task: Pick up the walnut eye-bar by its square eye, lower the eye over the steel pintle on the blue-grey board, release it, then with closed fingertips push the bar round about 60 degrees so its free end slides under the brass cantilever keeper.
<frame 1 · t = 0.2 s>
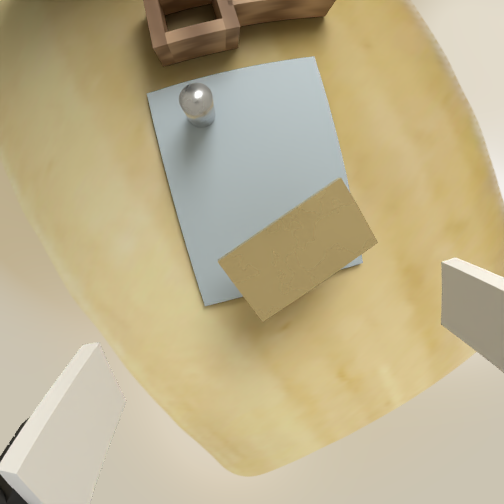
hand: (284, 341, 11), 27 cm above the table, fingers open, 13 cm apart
pintle: (202, 116, 34), resting on board
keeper: (283, 233, 38), resting on board
board: (259, 176, 36), on the table
link: (321, 7, 32), on the table
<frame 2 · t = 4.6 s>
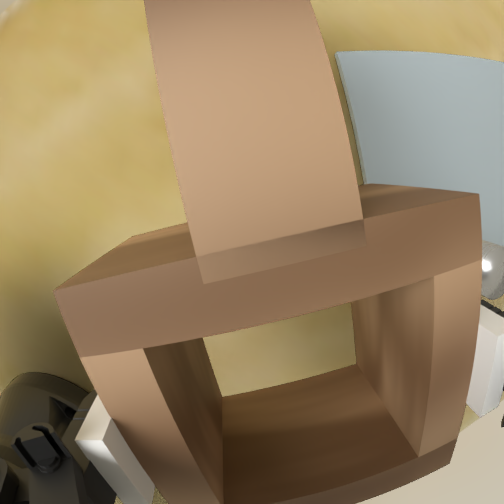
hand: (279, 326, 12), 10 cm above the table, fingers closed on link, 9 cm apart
pintle: (424, 242, 22), resting on board
board: (493, 171, 21), on the table
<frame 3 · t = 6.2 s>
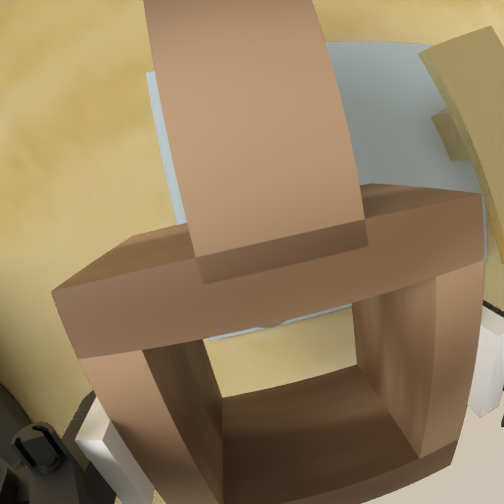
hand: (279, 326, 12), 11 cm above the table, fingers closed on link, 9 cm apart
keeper: (425, 146, 22), resting on board
board: (353, 171, 23), on the table
when the fingers open (1 cm above the table, at t = 8.3 s): link stays where it is, resting on board.
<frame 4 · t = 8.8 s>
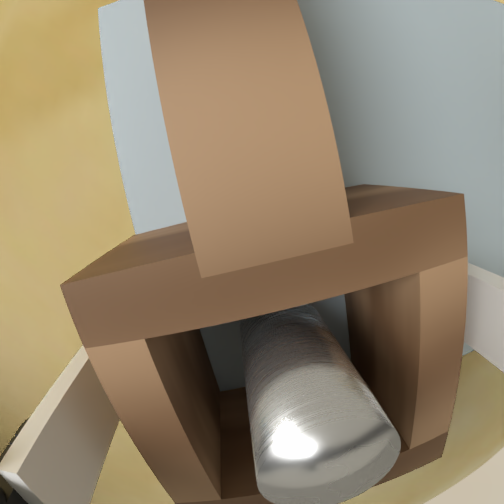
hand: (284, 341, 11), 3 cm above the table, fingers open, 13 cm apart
pintle: (274, 311, 13), resting on board
board: (435, 170, 13), on the table
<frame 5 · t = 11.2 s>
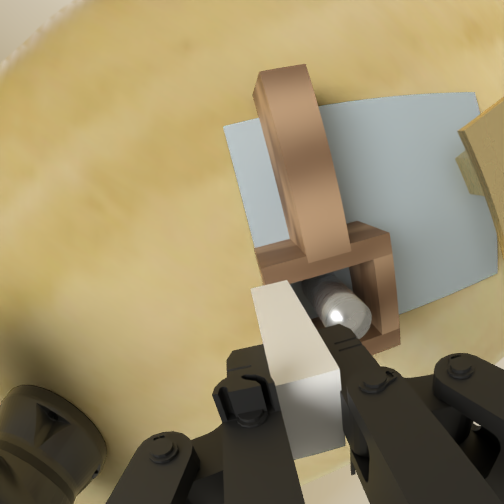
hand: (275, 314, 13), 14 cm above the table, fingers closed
pintle: (317, 281, 28), resting on board
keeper: (450, 183, 27), resting on board
board: (394, 209, 27), on the table
link: (270, 91, 24), point 1 cm above the table, touching board
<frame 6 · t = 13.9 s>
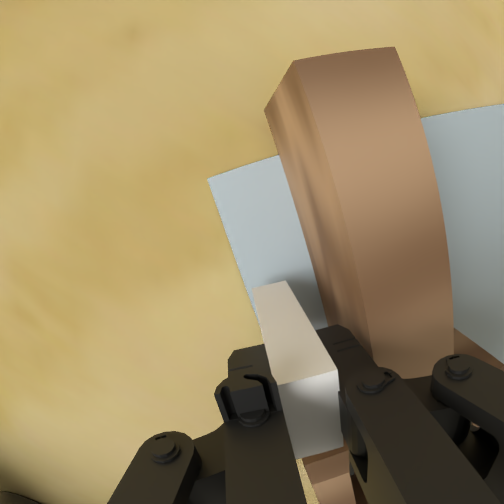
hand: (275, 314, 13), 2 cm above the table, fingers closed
board: (477, 282, 16), on the table
link: (297, 101, 13), point 1 cm above the table, touching board, gripper
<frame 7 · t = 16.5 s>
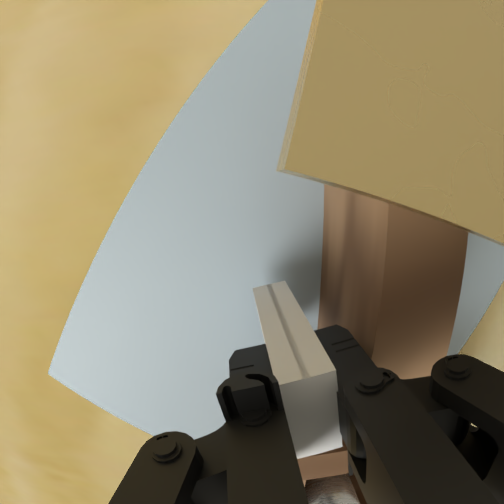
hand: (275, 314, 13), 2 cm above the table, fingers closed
pintle: (303, 430, 17), resting on board
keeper: (394, 145, 14), resting on board
board: (335, 277, 15), on the table
link: (355, 116, 13), point 1 cm above the table, touching board, gripper, pintle
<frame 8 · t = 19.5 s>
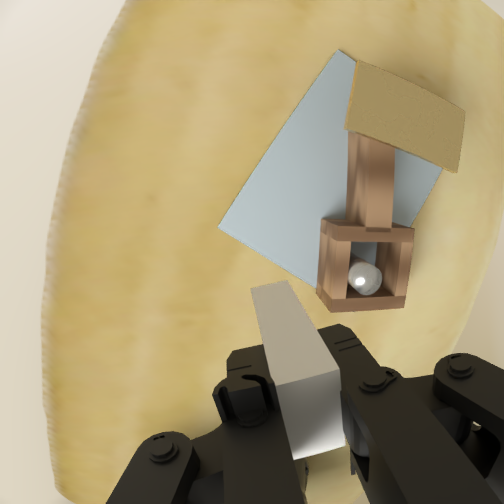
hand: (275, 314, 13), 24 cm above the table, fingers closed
pintle: (340, 259, 39), resting on board
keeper: (371, 129, 35), resting on board
board: (350, 180, 37), on the table
link: (359, 119, 35), point 1 cm above the table, touching board
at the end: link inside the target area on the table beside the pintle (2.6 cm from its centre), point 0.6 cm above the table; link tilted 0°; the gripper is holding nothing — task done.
